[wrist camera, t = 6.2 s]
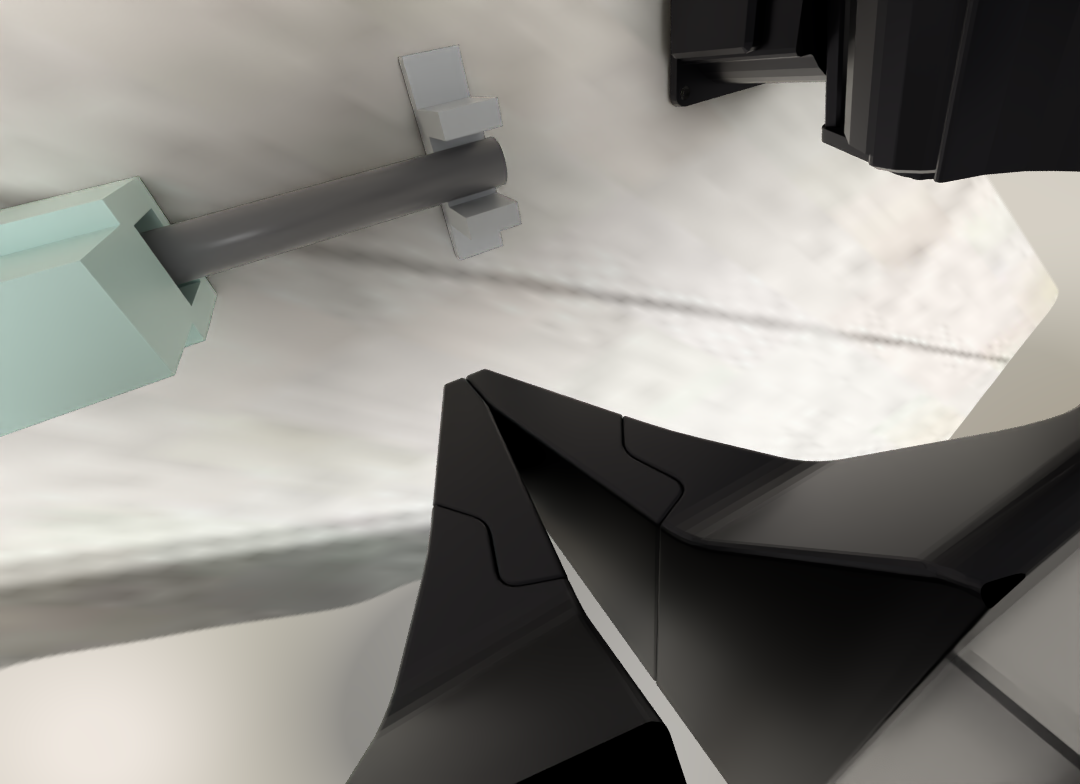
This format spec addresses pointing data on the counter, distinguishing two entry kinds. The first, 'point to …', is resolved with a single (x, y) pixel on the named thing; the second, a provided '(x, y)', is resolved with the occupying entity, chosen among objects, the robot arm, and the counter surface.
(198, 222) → the grey angular piece
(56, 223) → the mint stepped block
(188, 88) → the counter surface
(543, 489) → the robot arm
